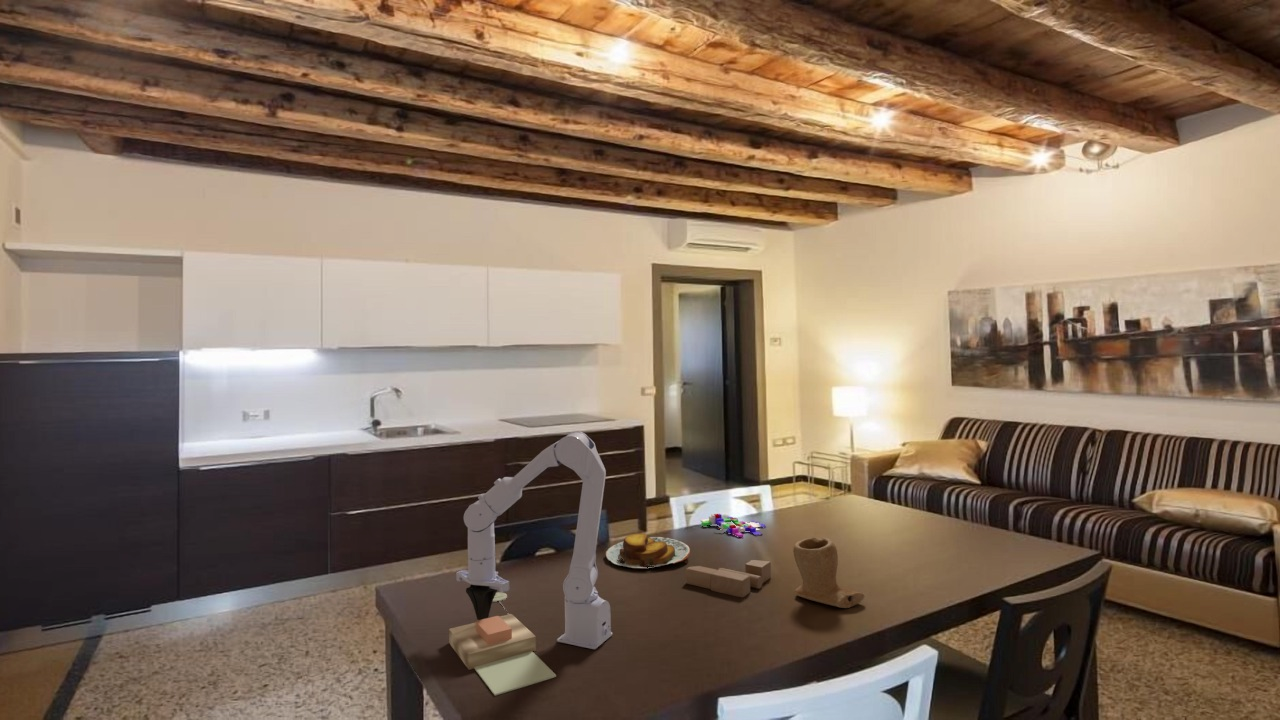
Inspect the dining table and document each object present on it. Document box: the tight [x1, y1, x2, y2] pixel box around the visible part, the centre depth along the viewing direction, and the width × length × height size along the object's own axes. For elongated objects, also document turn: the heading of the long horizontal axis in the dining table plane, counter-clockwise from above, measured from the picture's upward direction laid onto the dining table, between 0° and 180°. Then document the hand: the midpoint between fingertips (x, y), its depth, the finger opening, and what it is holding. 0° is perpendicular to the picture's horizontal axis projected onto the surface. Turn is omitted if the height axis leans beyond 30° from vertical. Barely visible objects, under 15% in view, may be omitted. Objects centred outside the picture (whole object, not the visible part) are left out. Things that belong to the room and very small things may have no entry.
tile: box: [475, 615, 512, 645], centre depth 131 cm, size 8×5×2 cm, turn 32°
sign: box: [492, 591, 510, 615], centre depth 154 cm, size 5×1×15 cm
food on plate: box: [605, 533, 691, 569], centre depth 189 cm, size 25×25×7 cm
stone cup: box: [793, 537, 865, 609], centre depth 153 cm, size 15×12×15 cm
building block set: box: [699, 513, 767, 538], centre depth 221 cm, size 25×20×4 cm
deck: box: [448, 613, 537, 671], centre depth 132 cm, size 14×14×3 cm
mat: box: [473, 651, 557, 697], centre depth 121 cm, size 12×12×1 cm
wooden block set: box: [685, 559, 772, 598], centre depth 168 cm, size 17×6×18 cm
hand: (482, 618), depth 136 cm, fingers closed
